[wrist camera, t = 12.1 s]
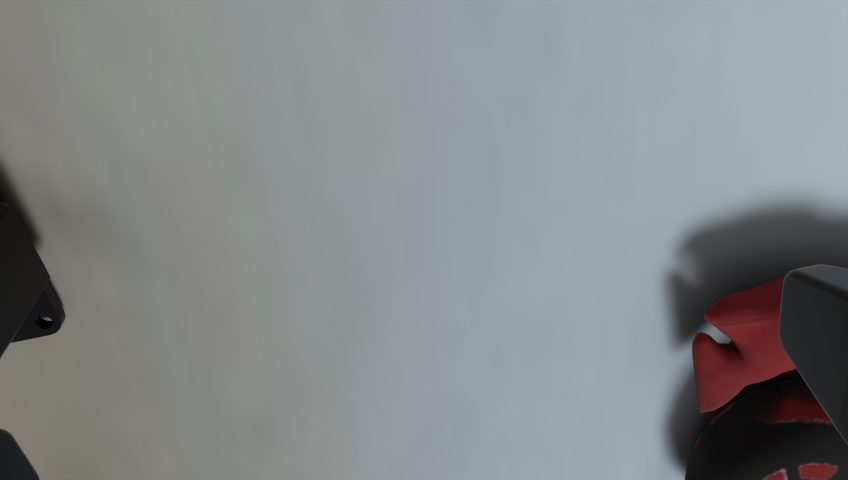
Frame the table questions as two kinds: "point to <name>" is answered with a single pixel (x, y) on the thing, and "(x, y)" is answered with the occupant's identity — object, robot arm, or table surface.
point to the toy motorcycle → (758, 400)
